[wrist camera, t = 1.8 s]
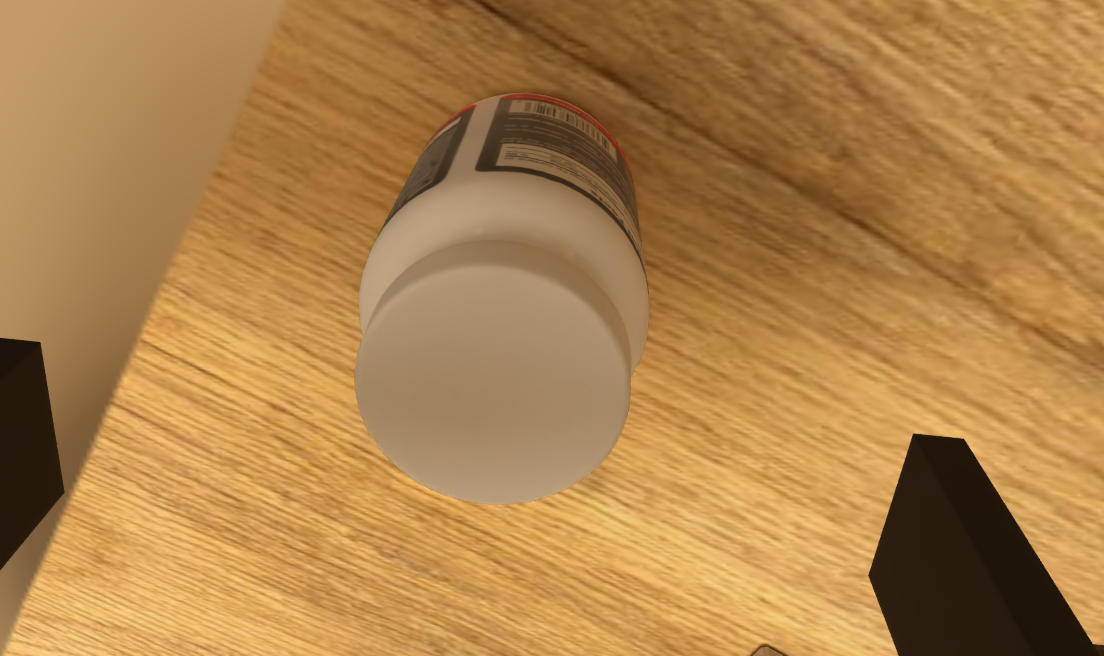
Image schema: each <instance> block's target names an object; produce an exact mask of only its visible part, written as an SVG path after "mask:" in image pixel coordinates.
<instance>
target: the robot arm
mask: <svg viewBox="0 0 1104 656" xmlns="http://www.w3.org/2000/svg"><path fill="white" fill-rule="evenodd" d="M63 494H64V486H63V480H62V474H61V468H60V461H59V455H58V449H57V443H56V437H55V431H54V424H53V418H52V411H51V405H50V399H49V393H48V387H47V381H46V374H45V369H44V362H43V355H42V349H41V343H40V342H34V341H25V340H15V339H6V338H0V570H1V569H2V568H3V566H4V565H5V564H6V562H7V561H8V560H9V559H10V558H11V557H12V555H13V554H14V553H15V552H16V551H17V549H18V548H19V547H20V546H21V544H22V543H23V542H24V541H25V539H26V538H27V537H28V536H29V535H30V534H31V532H32V531H33V530H34V529H35V527H36V526H37V525H38V524H39V523H40V521H41V520H42V519H43V518H44V517H45V515H46V514H47V513H48V512H49V511H50V509H51V508H52V507H53V506H54V504H55V503H56V502H57V501H58V500H59V498H60V497H61V496H62V495H63ZM868 576H869V578H870V581H871V584H872V586H873V589H874V592H875V594H876V597H877V600H878V602H879V605H880V607H881V610H882V613H883V615H884V618H885V621H886V623H887V626H888V629H889V631H890V634H891V637H892V639H893V642H894V645H895V647H896V650H897V652H898V655H899V656H1104V645H1096V644H1092V642H1091V640H1090V639H1089V637H1088V636H1087V634H1086V632H1085V631H1084V629H1083V628H1082V626H1081V624H1080V623H1079V621H1078V620H1077V618H1076V616H1075V615H1074V613H1073V612H1072V610H1071V608H1070V607H1069V605H1068V604H1067V602H1066V601H1065V599H1064V597H1063V596H1062V594H1061V593H1060V591H1059V589H1058V588H1057V586H1056V585H1055V583H1054V581H1053V580H1052V578H1051V577H1050V575H1049V573H1048V572H1047V570H1046V569H1045V567H1044V565H1043V564H1042V562H1041V561H1040V559H1039V558H1038V556H1037V554H1036V553H1035V551H1034V550H1033V548H1032V546H1031V545H1030V543H1029V542H1028V540H1027V538H1026V537H1025V535H1024V534H1023V532H1022V530H1021V529H1020V527H1019V526H1018V524H1017V523H1016V521H1015V519H1014V518H1013V516H1012V515H1011V513H1010V511H1009V510H1008V508H1007V507H1006V505H1005V503H1004V502H1003V500H1002V499H1001V497H1000V495H999V494H998V492H997V491H996V489H995V487H994V486H993V484H992V483H991V481H990V480H989V478H988V476H987V475H986V473H985V472H984V470H983V468H982V467H981V465H980V464H979V462H978V460H977V459H976V457H975V456H974V454H973V452H972V451H971V449H970V448H969V446H968V445H967V443H966V441H965V440H964V439H961V438H952V437H942V436H933V435H923V434H913V436H912V439H911V443H910V446H909V449H908V452H907V455H906V458H905V462H904V465H903V468H902V471H901V474H900V477H899V480H898V484H897V487H896V490H895V493H894V496H893V499H892V503H891V506H890V509H889V512H888V515H887V518H886V522H885V525H884V528H883V531H882V534H881V537H880V540H879V544H878V547H877V550H876V553H875V556H874V559H873V563H872V566H871V569H870V572H869V575H868Z"/></svg>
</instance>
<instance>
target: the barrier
mask: <svg viewBox="0 0 1104 656" xmlns="http://www.w3.org/2000/svg"><path fill="white" fill-rule="evenodd" d="M753 656H783V655H781V654H780V653H778V652H776V651H774V650H772V649H770V648H769V647H762V648H761V649H759V650H758V651H757V652H756V653H755V654H754V655H753Z"/></svg>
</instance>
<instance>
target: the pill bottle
mask: <svg viewBox="0 0 1104 656" xmlns="http://www.w3.org/2000/svg"><path fill="white" fill-rule="evenodd" d="M359 317H360V324H361V330H362V335H363V338H362V340H361V343H360V346H359V350H358V354H357V358H356V366H355V391H356V398H357V403H358V408H359V410H360V413H361V417H362V419H363V421H364V424H365V426H366V428H367V430H368V432H369V434H370V436H371V437H372V439H373V440H374V442H375V443H376V444H377V446H378V447H379V449H380V450H381V451H382V452H383V454H384V455H385V456H386V457H387V458H388V459H389V460H390V461H391V462H392V463H393V464H394V465H395V466H396V467H398V468H399V469H400V470H401V471H403V472H404V473H405V474H406V475H408V476H409V477H410V478H412V479H413V480H415V481H416V482H417V483H419V484H421V485H423V486H425V487H427V488H429V489H431V490H434V491H436V492H438V493H441V494H443V495H446V496H449V497H452V498H455V499H459V500H463V501H468V502H473V503H480V504H496V505H505V504H518V503H526V502H531V501H535V500H539V499H542V498H545V497H548V496H551V495H554V494H556V493H559V492H561V491H563V490H566V489H568V488H570V487H571V486H573V485H575V484H576V483H578V482H579V481H581V480H582V479H584V478H585V477H586V476H587V475H589V474H590V473H591V472H592V471H593V470H594V469H595V468H597V467H598V466H599V465H600V464H601V462H602V461H603V460H604V459H605V458H606V457H607V455H608V454H609V453H610V451H611V450H612V448H613V447H614V445H615V444H616V442H617V440H618V438H619V436H620V434H621V432H622V430H623V427H624V424H625V421H626V418H627V415H628V410H629V404H630V390H631V376H632V374H633V372H634V370H635V368H636V367H637V365H638V363H639V360H640V358H641V355H642V352H643V349H644V346H645V343H646V339H647V333H648V325H649V291H648V283H647V276H646V269H645V263H644V256H643V249H642V242H641V235H640V228H639V220H638V212H637V205H636V196H635V189H634V184H633V180H632V175H631V172H630V169H629V167H628V164H627V162H626V159H625V157H624V155H623V153H622V151H621V149H620V148H619V146H618V145H617V143H616V142H615V140H614V139H613V138H612V136H611V135H610V134H609V133H608V132H607V131H606V129H605V128H604V127H603V126H602V125H601V124H600V123H599V122H597V121H596V120H595V119H594V118H593V117H591V116H590V115H589V114H587V113H586V112H585V111H583V110H581V109H579V108H578V107H576V106H574V105H572V104H570V103H568V102H565V101H563V100H560V99H557V98H554V97H550V96H546V95H541V94H532V93H510V94H502V95H497V96H493V97H489V98H486V99H483V100H480V101H478V102H475V103H473V104H471V105H469V106H467V107H465V108H464V109H462V110H460V111H459V112H457V113H456V114H455V115H453V116H452V117H451V118H449V119H448V120H447V121H446V122H445V123H444V124H443V125H442V126H441V127H440V128H439V129H438V130H437V131H436V132H435V134H434V135H433V136H432V137H431V139H430V140H429V141H428V143H427V144H426V146H425V148H424V149H423V151H422V153H421V154H420V156H419V158H418V160H417V162H416V164H415V166H414V168H413V170H412V172H411V174H410V176H409V178H408V180H407V181H406V183H405V185H404V187H403V189H402V191H401V193H400V195H399V197H398V199H397V200H396V202H395V204H394V206H393V208H392V210H391V212H390V214H389V216H388V218H387V219H386V221H385V223H384V225H383V227H382V229H381V231H380V233H379V235H378V236H377V238H376V241H375V243H374V245H373V247H372V249H371V251H370V254H369V257H368V260H367V263H366V266H365V269H364V272H363V275H362V280H361V286H360V293H359Z"/></svg>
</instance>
